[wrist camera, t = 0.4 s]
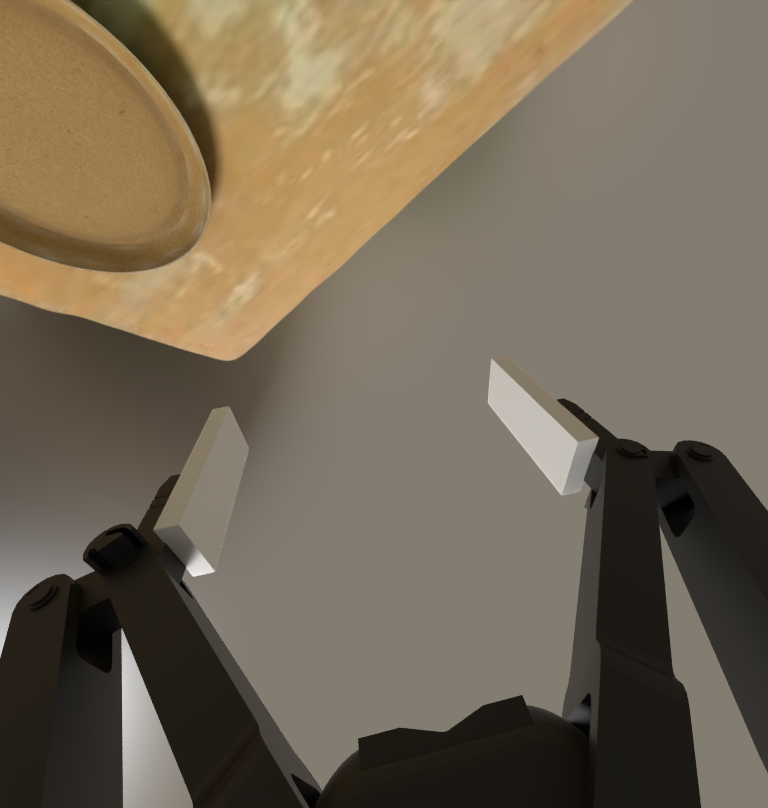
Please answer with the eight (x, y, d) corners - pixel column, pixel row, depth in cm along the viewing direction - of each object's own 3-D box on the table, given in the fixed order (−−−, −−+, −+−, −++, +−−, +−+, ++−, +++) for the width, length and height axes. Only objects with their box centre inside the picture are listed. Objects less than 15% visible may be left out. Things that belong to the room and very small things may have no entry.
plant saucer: (233, 78, 29) (235, 96, 27) (194, 278, 45) (194, 296, 44) (-351, -282, 14) (-409, -284, 13) (-96, 205, 31) (-109, 227, 29)
